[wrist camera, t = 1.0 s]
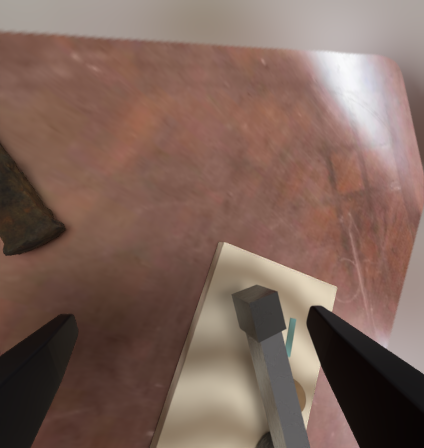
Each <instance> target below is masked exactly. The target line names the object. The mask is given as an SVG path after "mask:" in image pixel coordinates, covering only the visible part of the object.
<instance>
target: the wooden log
mask: <svg viewBox="0 0 424 448" xmlns="http://www.w3.org/2000/svg"><path fill="white" fill-rule="evenodd" d="M64 230H65V227H64V224H63V223H61V222H59V221H57V220H55V219H54V218H53V215H52V211H51V210H50V209H48V208H46V207H44V206H43V204H42V203H41V200H40V199H39V197H38V196H37V194H36V193H35V190H34V188H33V187H32V186H31V185H30V184H29V183H28V180H27V178H26V177H25V175H24V174H23V172H19V171H18V169H17V168H16V164H15V162H14V161H13V160H12V159H11V158H10V156H9V155H8V154H7V153H6V151H5V150H4V149H3V147H2V146H1V145H0V237H1V239H2V241H3V242H4V247H3V253H4V254H5V255H6V256H9V255H16V254H22V253H24V252H27V251H30V250H32V249H34V248H37V247H39V246H41V245H43V244H45V243H47V242H49V241H51V240H52V239H54V238H56V237H58V236H59V235H60V234H61V233H62V232H63V231H64Z"/></svg>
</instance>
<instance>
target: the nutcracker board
mask: <svg viewBox="0 0 424 448" xmlns="http://www.w3.org/2000/svg"><path fill="white" fill-rule="evenodd" d="M256 284H257V285H260V286H263V287H266V288H269V289H272V290H275V291H278V295H279V299H280V303H281V308H282V312H283V316H284V320H285V324H286V328H287V329H285V330H283V331H282V334H283V339H284V343H285V347H286V351H287V355H288V359H289V363H290V367H291V371H292V375H293V379H294V383H295V388H296V392H297V396H298V400H299V404H300V408H301V412H302V416H303V420H304V424H305V428H307V423H308V419H309V414H310V410H311V405H312V400H313V396H314V391H315V387H316V382H317V378H318V373H319V368H320V362H319V359H318V356H317V353H316V351H315V348H314V345H313V342H312V340H311V337H310V334H309V331H308V329H307V325H306V320H307V316H308V312H309V308H310V307H311V306H312V305H321V306H323V307H325V308H326V309H328V310H329V311H331V312H332V309H333V304H334V300H335V295H336V291H337V287H336V286H333V285H331V284H328V283H326V282H323V281H321V280H318V279H316V278H313V277H311V276H308V275H306V274H303V273H301V272H298V271H296V270H293V269H291V268H288V267H286V266H283V265H281V264H278V263H276V262H273V261H271V260H268V259H266V258H263V257H261V256H258V255H256V254H253V253H250V252H248V251H245V250H243V249H240V248H238V247H235V246H233V245H230V244H228V243H225V242H219V243H218V246H217V249H216V252H215V255H214V258H213V260H212V263H211V266H210V269H209V272H208V275H207V278H206V281H205V284H204V287H203V290H202V293H201V296H200V299H199V302H198V305H197V308H196V311H195V314H194V317H193V320H192V323H191V326H190V329H189V332H188V335H187V338H186V341H185V344H184V347H183V350H182V353H181V356H180V359H179V362H178V365H177V368H176V371H175V374H174V377H173V380H172V383H171V386H170V389H169V392H168V395H167V397H166V400H165V403H164V406H163V409H162V412H161V415H160V418H159V421H158V424H157V427H156V430H155V433H154V436H153V439H152V442H151V445H150V448H257V446H258V444H259V442H260V440H261V439H262V438H263V436H264V435H265V434H267V433H268V432H270V429H269V425H268V421H267V417H266V413H265V409H264V405H263V401H262V397H261V393H260V389H259V385H258V381H257V377H256V373H255V369H254V365H253V361H252V357H251V352H250V348H249V344H248V340H247V336H246V333H245V332H244V331H243V330H242V329H240V327H239V323H238V319H237V315H236V311H235V307H234V303H233V299H232V295H231V294H233V293H236V292H239V291H241V290H244V289H246V288H249V287H251V286H254V285H256Z"/></svg>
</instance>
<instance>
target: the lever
mask: <svg viewBox="0 0 424 448" xmlns="http://www.w3.org/2000/svg"><path fill="white" fill-rule="evenodd" d="M231 295H232V299H233V303H234V307H235V311H236V315H237V319H238V323H239V327H240V329H242V330H243V331H244V332H245V333H246V336H247V340H248V344H249V348H250V352H251V357H252V361H253V365H254V369H255V373H256V377H257V381H258V385H259V389H260V393H261V397H262V401H263V405H264V409H265V413H266V417H267V421H268V425H269V429H270V432H268V433H267V434H265V435H264V436H263V438H262V439H261V440H260V442H259V444H258V446H257V448H310V445H309V441H308V437H307V432H306V428H305V424H304V420H303V416H302V412H301V408H300V404H299V400H298V396H297V392H296V388H295V383H294V379H293V375H292V371H291V367H290V363H289V359H288V355H287V351H286V347H285V343H284V339H283V334H282V331H283V330H285V329H287V328H286V324H285V320H284V316H283V312H282V308H281V303H280V299H279V295H278V291H275V290H272V289H269V288H266V287H263V286H260V285H257V284H256V285H254V286H251V287H249V288H246V289H244V290H241V291H239V292H236V293H233V294H231Z"/></svg>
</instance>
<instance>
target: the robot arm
mask: <svg viewBox="0 0 424 448" xmlns="http://www.w3.org/2000/svg"><path fill="white" fill-rule="evenodd" d="M306 325H307V329H308V331H309V334H310V337H311V340H312V342H313V345H314V348H315V351H316V353H317V356H318V359H319V362H320V364H321V367H322V369H323V371H324V373H325V375H326V378H327V380H328V382H329V384H330V386H331V388H332V390H333V392H334V394H335V397H336V399H337V401H338V403H339V405H340V407H341V409H342V411H343V413H344V416H345V418H346V420H347V422H348V424H349V426H350V428H351V430H352V432H353V434H354V437H355V439H356V441H357V443H358V445H359V447H360V448H424V374H423V373H421V372H420V371H418V370H417V369H415V368H414V367H412V366H411V365H409V364H408V363H407V362H405V361H404V360H402V359H400V358H399V357H398V356H396V355H395V354H393V353H392V352H390V351H388V350H387V349H386V348H384V347H383V346H381V345H380V344H378V343H377V342H375V341H374V340H372V339H371V338H369V337H368V336H366V335H365V334H363V333H362V332H360V331H359V330H357V329H356V328H355V327H353V326H352V325H350V324H349V323H347V322H346V321H344V320H343V319H341V318H340V317H338V316H337V315H335V314H334V313H332V312H331V311H329V310H328V309H326V308H325V307H323V306H321V305H312V306H311V307H310V308H309V312H308V316H307V320H306ZM77 337H78V327H77V324H76V320H75V317H74V315H73V314H60V315H58V316H57V317H55V318H54V319H53V320H51V321H50V322H48V323H47V324H45V325H44V326H43V327H41V328H40V329H38V330H37V331H35V332H34V333H33V334H31V335H30V336H28V337H27V338H25V339H24V340H23V341H21V342H20V343H18V344H17V345H15V346H14V347H13V348H11V349H10V350H8V351H7V352H5V353H4V354H3V355H1V356H0V448H31V446H32V443H33V441H34V439H35V437H36V435H37V433H38V431H39V428H40V426H41V424H42V422H43V420H44V418H45V416H46V413H47V411H48V409H49V407H50V405H51V403H52V401H53V399H54V396H55V394H56V392H57V390H58V388H59V385H60V383H61V381H62V378H63V376H64V373H65V370H66V367H67V365H68V362H69V359H70V356H71V354H72V351H73V348H74V345H75V342H76V340H77Z"/></svg>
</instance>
